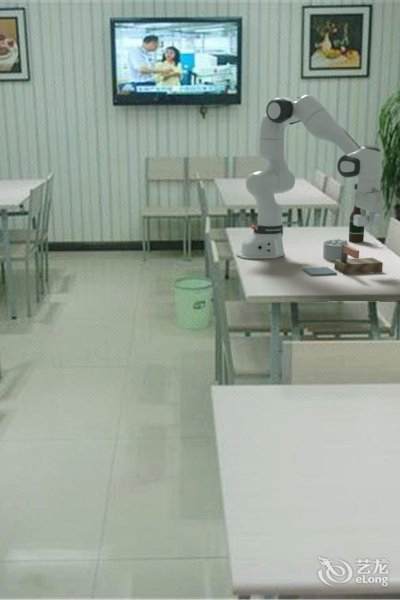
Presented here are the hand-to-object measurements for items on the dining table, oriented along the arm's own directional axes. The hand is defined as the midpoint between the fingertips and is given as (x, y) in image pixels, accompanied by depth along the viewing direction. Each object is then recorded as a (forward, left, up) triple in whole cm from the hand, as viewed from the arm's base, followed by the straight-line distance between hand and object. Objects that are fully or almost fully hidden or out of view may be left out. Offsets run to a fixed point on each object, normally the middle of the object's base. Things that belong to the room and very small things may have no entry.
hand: (367, 220), depth 284 cm
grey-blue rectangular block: (0, 0, -2) cm, 2 cm away
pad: (-20, 0, -21) cm, 29 cm away
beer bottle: (+22, +62, -21) cm, 69 cm away
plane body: (-3, 0, -21) cm, 21 cm away
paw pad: (-3, +24, -21) cm, 32 cm away
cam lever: (-10, -6, -17) cm, 20 cm away
